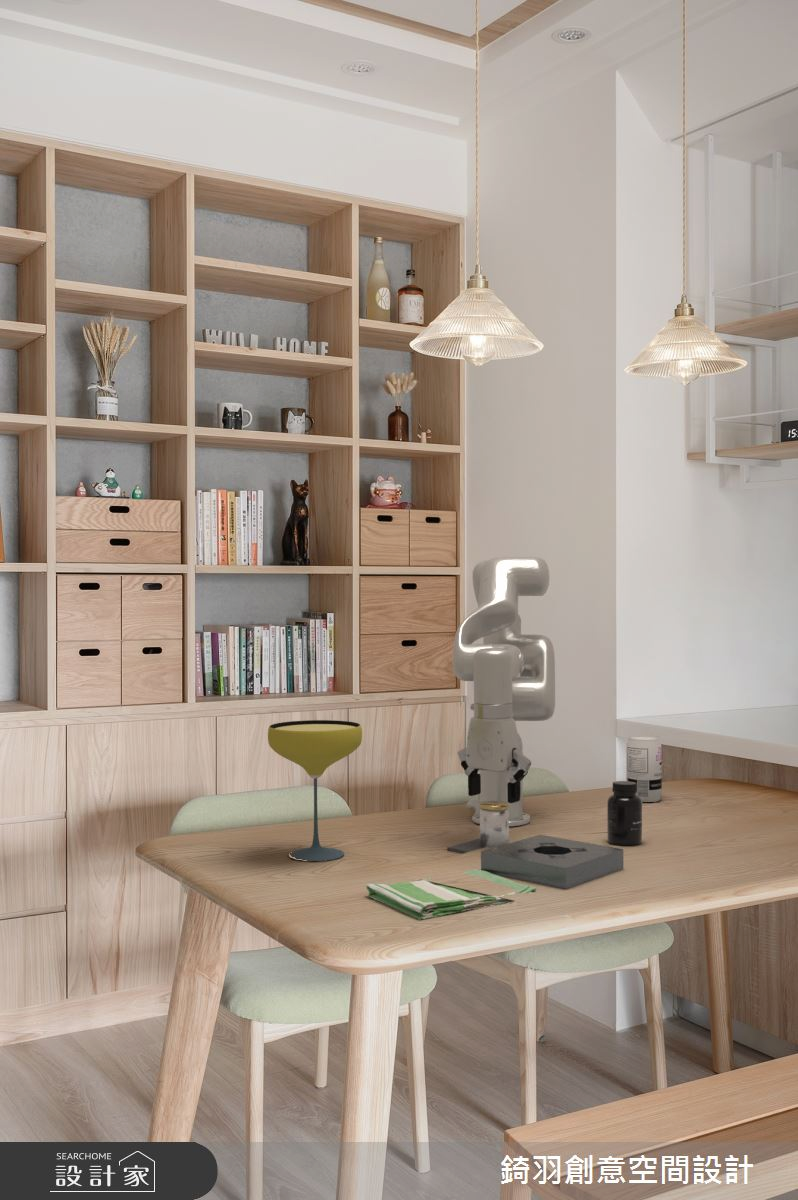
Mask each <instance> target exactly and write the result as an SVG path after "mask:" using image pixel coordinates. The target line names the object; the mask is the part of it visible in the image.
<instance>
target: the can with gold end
mask: <svg viewBox="0 0 798 1200" xmlns="http://www.w3.org/2000/svg"><path fill="white" fill-rule="evenodd" d="M479 808H480V824H479V839H480V847H481V849H483V848H486V849H492V848H495V847H499V846H502V845H506V844H509V843H510V826H509V803H508V802H503V801H484V802H480V803H479Z"/></svg>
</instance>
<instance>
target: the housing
mask: <svg viewBox="0 0 798 1200" xmlns="http://www.w3.org/2000/svg"><path fill="white" fill-rule="evenodd" d="M480 870H483V871H487V872H489V873H491V874H494V875H498V876H500V877H503V878H509V879H510V878H511V879H515V880H519V881H525V882H529V883H533V884H538V885H544V886H548V887H552V888H553V887H554V888H557V889H563V890H569V889H572V888H575V887H576V886H577V887H578V886H580V885H583V884H585V883H589V882H591V881H594V880H596V879H599V878H603V877H604V876H608V875H611V874H613V873H616V872H619V871H622V870H624V849H623V848H620V847H613V846H608V845H602V844H597V843H596V844H595V843H590V842H587V841H586V842H585V841H579V840H574V839H566V838H561V837H555V836H550V835H543V834H538V835H534V836H531V837H530V836H529V837H526V838H524V839H520V840H517V841H513V842H509V844H506V845H502V846H499V847H495V848H487V849H485V850H482V851H480Z"/></svg>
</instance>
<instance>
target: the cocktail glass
mask: <svg viewBox="0 0 798 1200" xmlns="http://www.w3.org/2000/svg"><path fill="white" fill-rule="evenodd" d="M267 741H268V745H269V747H270V748H271V749H272V751H274V752H275V753H276V754H277V755H279V756H281V757H282V758H284V759H286V760H289V761H291V762H292V763H295V764H296V765H299V766H300V767H301V768H302V769H304V771H305V772H306V774H308V776H309V777H310V778H311V779H313V835H312V843H311V846H310V847H303V848H299V849H298V850H297V849H294V850H295V851H294V850H292V851H293V852H292V853H290V852H289V853H290V855H291V856H292V857H295V858H296V859H302V860H307V861H324V862H326V861H325V860H331V861H333V860H332V859H336V860H338V859H337V858H339V859H341V858H343V857H344V856H343V855H345V852H344V851H343V850H341V849H338V848H333V847H324V846H321V845H320V838H319V827H318V826H319V825H318V823H319V822H318V819H319V818H318V779H319V778H321V777H322V776H323V774H324V772H326V770H327V769H328V768H329V767H330V766H332V765H333V764H335V763H337V762H338V761H340V760H343V759H344V758H346V757H348V756H349V755H351V754H352V753H354V752H355V751H356V750H357V749H358V748H359V747H360V745H361V744H362V741H363V729H362V725H361V724H360V723H358V722H355V721H346V720H335V719H334V720H333V719H332V720H330V719H329V720H328V719H327V720H326V719H313V720H293V721H283V722H277V723H276V722H275V723H273V724H270V725H269V726H268V730H267ZM342 856H343V857H342ZM340 857H341V858H340Z"/></svg>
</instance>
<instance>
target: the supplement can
mask: <svg viewBox="0 0 798 1200" xmlns="http://www.w3.org/2000/svg"><path fill="white" fill-rule="evenodd" d="M625 744H626V745H625V746H626V748H625V749H626V750H625V753H626V757H625V758H626V761H625V762H626V766H625V767H626V769H625V770H626V772H625V773H626V781H630V782H635V783H637V793H636V795H637V796H638V797H639V798H640V799H641V801H642V802H654V803H657V802H656V801H658V802H660V800H661V799H662V798H663V793H662V792H663V791H662V790H663V787H662V786H663V782H662V780H663V774H662V773H663V772H662V770H663V769H662V765H663V764H662V761H663V760H662V754H663V753H662V752H663V751H662V750H663V749H662V748H663V747H662V743H661V740H660V738H659V737H657V736H651V735H633V736H629V737H628V739H627V741H626V743H625Z"/></svg>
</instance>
